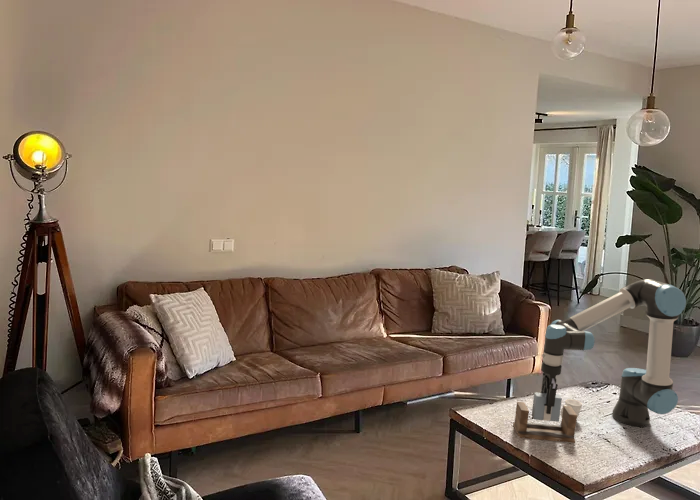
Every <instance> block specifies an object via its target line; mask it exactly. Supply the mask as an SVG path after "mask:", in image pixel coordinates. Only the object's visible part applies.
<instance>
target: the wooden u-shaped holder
mask: <svg viewBox="0 0 700 500" xmlns="http://www.w3.org/2000/svg"><path fill="white" fill-rule="evenodd" d="M515 407H516V409H515V415H514V416H515V417H514V422H513V423H512V425H513V427H514V430H515V432H516V434H517V436H518V438H519V439H529V440H537V441H538V440H539V441H549V442H550V441H551V442H561V443H572V444H575V443H576V439H575V435H576V427H577V421H578V420H577V419H578V418H577V414H576V413H575V412H574V410H573V409H572V407H571V406H564V405H563V406H562V407H563V413H562V417H561V422H560V425H555V424H545V423H536V422H535V423H534V422H532V423H531V422H528V421H529V414H530V413H529V412H530V411H529V409H528V406H527V405H526V403H525V402H524V401H516V405H515ZM576 420H577V421H576Z"/></svg>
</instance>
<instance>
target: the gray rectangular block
mask: <svg viewBox="0 0 700 500" xmlns="http://www.w3.org/2000/svg"><path fill="white" fill-rule="evenodd" d="M533 393H534V394H533V398H532V399H533V400H532V409H531V417H532V419H533V420H536V421H544V420H543V416H544V408H545V406H544V404H546V396H547V393H541V392H537V391H535V392H534V391H533ZM562 399H563V398H562V396H560V394H558V393H556V397H555V404H554V407H552V412H551V420H550V421H549V422H557V423H559V422H560V417H561V409H562V402H563V401H562Z"/></svg>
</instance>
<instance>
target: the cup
mask: <svg viewBox="0 0 700 500" xmlns="http://www.w3.org/2000/svg"><path fill="white" fill-rule="evenodd" d="M564 403H565V405H563V406H571V407H572V409H573V410H574V412H575V413H576V414H577V419H578V418H579V415H580V413H581V409H582V406H583V403H582V402H581V401H579V400H576V399H571V398H568V399H565V400H564ZM563 406H561V409H560V417H561V418H562V413H563ZM577 421H578V420H576V422H577Z"/></svg>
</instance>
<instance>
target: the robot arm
mask: <svg viewBox="0 0 700 500" xmlns="http://www.w3.org/2000/svg"><path fill="white" fill-rule="evenodd" d="M686 304H687V298H686V296H685V293H684V291H682V290H681V289H680V288H679V287H677V286H674V285H673V284H668V283H666V282H662V281H659V280H656V279H653V278H652V279H651V278H648V279H647V278H646V279H645V278H644V279H640V280H637V281H635V282H632V283H630V284H627V285H626V286H624V287H622V288H620V289H619V291H618V292H616V293H615V294H614V295H611V296H609V297H608V298H607V297H606V298H605V299H604V300H601V301H600V302H598V303H596V304H594V305H592V306H590V307H588V308H586V309H584V310H581V311H580V312H578V313H576V314H574V315H572V316H571V317H568V318H566V319H563V320H562V319H556V320H554V321H553V320H552V321H551V323H550V324H549V325H547V327H546V331H545V335H544V338H545V339H544V344H543V345H544V346H543V354H541V357H542V363H541V369H540V370H541V372H542V379H541V380H542V382H541V390H540V393H547V396H546V404H544V406H545V408H544V416H543V420H542V421H543V422H544V421H545V422H546V421H547V422H551V421H550V420H551V412H552V407H554V404H555V397H556V394H557V390H558V387H559V386H558V383H557V378H556V376H559V375H561V374H562V367H563V366H562V364H563V361H564V351H566V350H569V351H590V350H593V348H594V346H595V341H596V340H595V336H594V333H592V332H591V331H586V330H589V329H591V328H592V327H594V326H597V325H598V324H600V323H602V322H604V321H606V320H608V319H610V318H612V317H614V316H616V315H618V314H620V313H621V312H623V311H626V310H628V309H633V310H634V309H635V308H637V307H641V306H642V307H643V306H644V307H646V309H645V312H646V313H645V315H646V316H647V318H649V328H648V341H647V355H646V368H645V369H643V368H638V367H637V368H636V367H627V368H624V369H623V371H622V373H621V376H620V377H621V381H620V388H619V394H618V400H617V402H616V404H615V405H614V407H613V409H612V412H611V414H612V415H611V416H612V417H613V419H615V420H617V422H620V423H622V424H625V425H628V426H632V427H648V426H649V425H650V421H651V415H650V412H654V414H658V415H666V414H669V413H671V412H672V410H674V409H675V408H676V407H677V405H678V402H679V396H678V394H677V393H676V391H675V390H674V389H673V387H674V381H673V379H672V378H671V377H670V374H671V373H670V370H671V358H672V349H673V348H672V346H673V345H672V344H673V333H674V322H675V321H677V320H678V319H679V315H681V314H682V312H683V311H684V310H685V308H686ZM649 411H650V412H649Z"/></svg>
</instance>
